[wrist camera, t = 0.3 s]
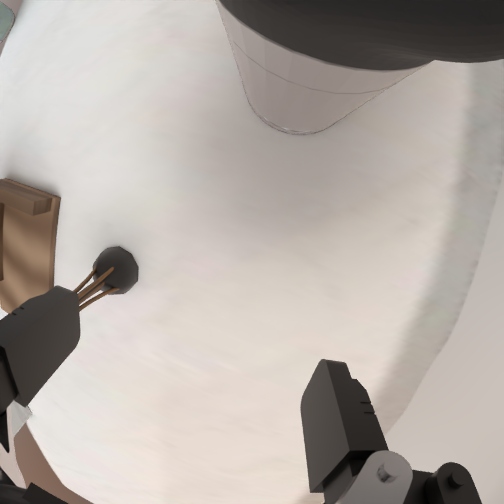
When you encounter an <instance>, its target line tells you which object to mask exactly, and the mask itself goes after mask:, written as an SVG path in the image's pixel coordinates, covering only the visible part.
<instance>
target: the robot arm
mask: <svg viewBox="0 0 504 504" xmlns="http://www.w3.org/2000/svg"><path fill="white" fill-rule="evenodd" d="M215 1H216V3H217V6H218V9H219V12H220V15H221V18H222V21H223V24H224V26H225V29H226V32H227V35H228V38H229V41H230V44H231V47H232V50H233V53H234V57H235V60H236V63H237V66H238V69H239V73H240V76H241V79H242V83H243V86H244V89H245V92H246V95H247V98H248V101H249V104H250V105H251V107H252V109H253V110H254V112H255V113H256V114H257V115H258V116H259V117H260V118H261V119H262V120H263V121H264V122H265V123H267V124H268V125H270V126H271V127H273V128H275V129H278V130H280V131H282V132H286V133H291V134H303V135H305V134H311V133H316V132H319V131H322V130H324V129H326V128H328V127H329V126H331V125H332V124H334V123H336V122H337V121H339V120H341V119H342V118H344V117H345V116H346V115H348V114H349V113H351V112H352V111H354V110H356V109H357V108H359V107H360V106H362V105H363V104H365V103H366V102H368V101H369V100H371V99H372V98H374V97H376V96H377V95H379V94H380V93H382V92H383V91H385V90H387V89H388V88H390V87H391V86H393V85H395V84H396V83H397V82H399V81H400V80H402V79H404V78H405V77H407V76H409V75H410V74H412V73H414V72H415V71H417V70H419V69H420V68H422V67H424V66H425V65H427V64H429V63H430V62H432V61H434V60H440V61H448V62H461V63H476V62H487V61H494V60H500V59H504V0H215ZM79 338H80V316H79V297H78V294H77V293H76V292H74V291H71V290H68V289H66V288H63V287H61V286H55V287H53V288H52V289H50V290H49V291H48V292H46V293H45V294H42V295H39V296H36V297H33V298H30V299H28V300H27V301H25V302H24V303H23V304H21V305H20V306H19V308H18V307H17V308H16V309H15V310H13V311H12V313H11V314H10V313H9V314H8V315H7V316H5V317H4V318H3V319H1V320H0V504H68V503H66V502H65V501H63V500H61V499H59V498H57V497H55V496H53V495H52V494H50V493H48V492H47V491H45V490H43V489H41V488H40V487H38V486H37V485H35V484H33V483H30V485H29V487H28V489H26V486H25V482H24V479H23V476H22V474H21V471H20V470H19V467H18V465H17V461H16V458H15V450H14V442H13V430H12V415H11V408H10V406H9V405H10V404H11V403H12V402H13V400H14V401H15V402H17V403H18V404H20V405H21V406H23V407H25V408H26V407H27V405H28V404H29V403H30V401H31V400H32V399H33V398H34V396H35V395H36V394H37V393H38V391H39V390H40V389H41V388H42V387H43V385H44V384H45V383H46V382H47V380H48V379H49V378H50V377H51V376H52V374H53V373H54V372H55V371H56V370H57V369H58V367H59V366H60V365H61V364H62V363H63V362H64V360H65V359H66V358H67V357H68V356H69V355H70V353H71V352H72V351H73V350H74V349H75V348H76V346H77V344H78V342H79ZM374 413H375V411H374V409H373V406H372V405H371V401H370V398H369V396H368V393H367V391H366V389H365V388H364V387H363V386H362V385H361V384H360V383H359V381H358V380H357V379H352V378H351V375H350V372H349V370H348V367H347V365H346V363H345V362H339V361H332V360H326V359H322V360H321V361H320V362H319V363H318V365H317V367H316V369H315V371H314V373H313V375H312V378H311V380H310V382H309V384H308V386H307V388H306V389H305V391H304V394H303V396H302V400H301V418H302V426H303V434H304V442H305V451H306V459H307V468H308V477H309V487H310V493H324V499H325V500H324V501H323V502H322V503H321V504H482V503H481V500H480V497H479V495H478V492H477V489H476V487H475V485H474V482H473V480H472V477H471V475H470V473H469V472H468V471H467V469H466V468H464V467H463V466H462V465H460V464H457V463H453V462H449V463H446V464H444V465H442V466H441V467H440V468H439V469H438V470H437V471H436V472H435V473H430V472H423V471H417V470H412V469H411V466H410V464H409V463H408V462H407V460H406V459H405V458H404V457H402V456H401V455H399V454H398V453H395V452H392V451H389V449H388V447H387V444H386V441H385V438H384V435H383V433H382V430H381V427H380V425H379V422H378V419H377V417H376V415H374Z"/></svg>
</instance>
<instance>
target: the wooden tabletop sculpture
mask: <svg viewBox="0 0 504 504" xmlns="http://www.w3.org/2000/svg"><path fill="white" fill-rule="evenodd" d="M92 276H93V279H94V282H93V283H91V284H90V285H89V286H87V287H86V288H85V289H83V290H82V291H81V292H79V291H80V290H81V289H82V288H83V287H84V285H85V284H86V283H87V282H88V281H89V280H90V279H91V278H92ZM137 281H138V266H137V264H136V262H135V260H134V258H133V256H132V254H131V253H129V252H127V251H126V250H124V249H122V248H121V247H113V248H107V249H105V250H104V251H103V252H102V253H101V254H100V255H99V257H98V258H97V259H96V261H95V262H94V264H93V271H92V272H91V273H90V274H89V276H88V277H87V278H86V279H85V280H84V281H83V282H82V283H81V284H80V285H79V286H78V287H77V288H76V289H75V290H74V292H76V293H77V292H79V293H78V297H79V305H80V304H81V303H82V302H84V301H85V300H86V299H88V298H89V297H90V296H92V295H93V294H95V293H96V292H98V291H99V290H102V291H103V292H102V293H101V294H99V295H97V296H95V297H93V298H92V299H90V300H88V301H87V302H85V303H84V304H82V305H81V306H79V312H80V311H81V310H82V309H84V308H85V307H87V306H88V305H90V304H91V303H93V302H94V301H96V300H98V299H100V298H101V297H103V296H105V295H107V294H108V295H114V294H124V293H126V292H128V291H129V290H130V289H131V288H132V286H133V285H134V284H135V283H136V282H137Z"/></svg>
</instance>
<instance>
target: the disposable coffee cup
mask: <svg viewBox="0 0 504 504" xmlns="http://www.w3.org/2000/svg"><path fill="white" fill-rule="evenodd" d="M14 19H15V16H14V13H13V12H12V10H11V9H10V8H8V7H7V6H6V5H5V4H3V3H2V2H0V43H2V41H3V40H4V39H5V38H6V36H7V35H8V33H9V31H10V30H11V28H12V26H13V23H14Z"/></svg>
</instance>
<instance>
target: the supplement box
mask: <svg viewBox="0 0 504 504" xmlns="http://www.w3.org/2000/svg"><path fill="white" fill-rule="evenodd" d="M9 406H10V408H11V415H12V430H13V437H14V436H15V435H16V433H17V432H18V431H19V430H20V428H21V427H22V426H23V425H24V423H25V422H26V421H27V420H28V419H29V417H30V416H31V415H32V413H31V411H30V410H29V408H28V406H27V407H26V408H25V407H23V406H21V405H20V404H18V403H17V402H15V401H14V400H13V402H12V403H11V404H10V405H9Z"/></svg>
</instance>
